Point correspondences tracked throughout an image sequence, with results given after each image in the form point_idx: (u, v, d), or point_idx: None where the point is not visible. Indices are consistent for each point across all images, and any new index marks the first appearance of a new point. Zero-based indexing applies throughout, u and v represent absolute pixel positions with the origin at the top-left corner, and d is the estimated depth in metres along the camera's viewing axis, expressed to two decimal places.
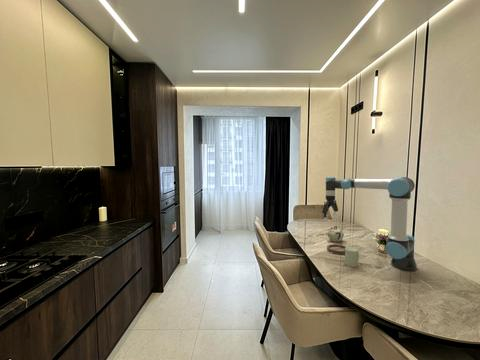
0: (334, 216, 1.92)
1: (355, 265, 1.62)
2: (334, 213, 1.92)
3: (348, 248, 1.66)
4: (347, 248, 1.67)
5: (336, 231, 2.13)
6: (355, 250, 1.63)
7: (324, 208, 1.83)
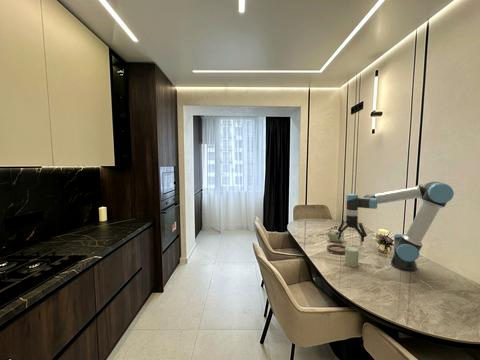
0: None
1: (355, 265, 1.62)
2: None
3: (348, 248, 1.66)
4: (347, 248, 1.67)
5: (336, 231, 2.13)
6: (355, 250, 1.63)
7: None
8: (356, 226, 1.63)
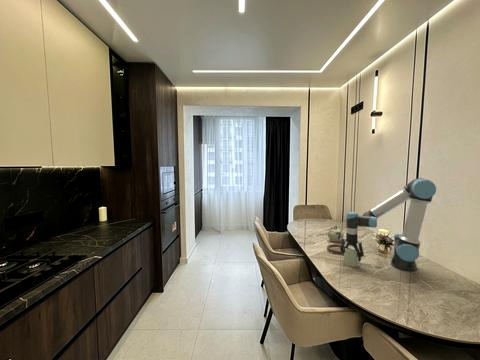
0: None
1: (355, 265, 1.62)
2: None
3: (348, 248, 1.66)
4: (347, 248, 1.67)
5: (336, 231, 2.13)
6: (355, 250, 1.63)
7: None
8: None
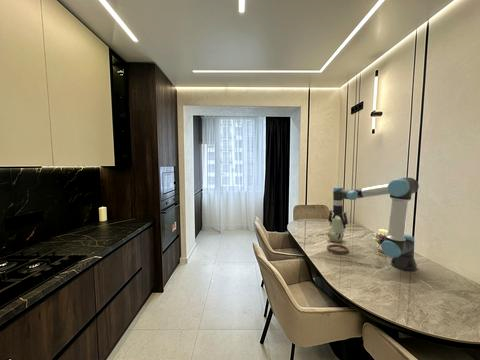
0: None
1: (340, 232, 1.88)
2: None
3: (334, 218, 1.92)
4: (334, 218, 1.93)
5: None
6: (340, 219, 1.89)
7: None
8: None
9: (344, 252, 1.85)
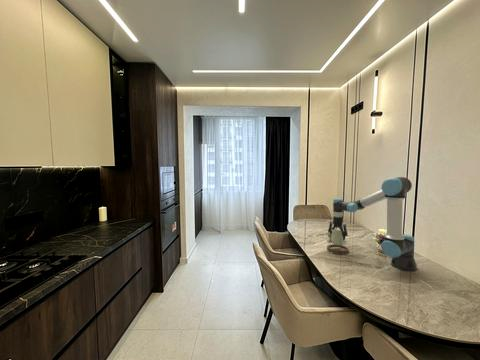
0: None
1: (340, 243, 1.88)
2: None
3: (334, 230, 1.93)
4: (334, 229, 1.94)
5: None
6: (340, 231, 1.89)
7: None
8: None
9: (344, 252, 1.85)
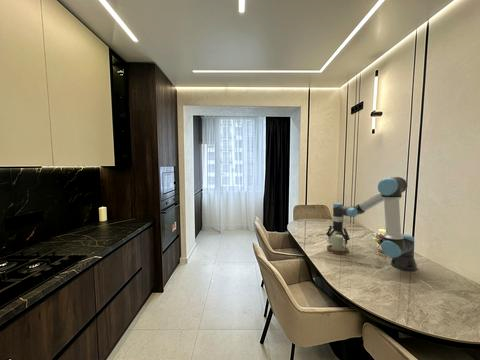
0: None
1: (340, 250, 1.89)
2: None
3: (334, 236, 1.93)
4: (334, 235, 1.94)
5: None
6: (340, 237, 1.90)
7: None
8: (341, 230, 1.91)
9: (344, 252, 1.85)
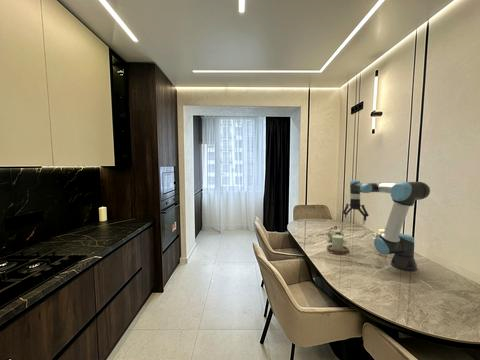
0: None
1: (340, 250, 1.89)
2: None
3: (334, 236, 1.93)
4: (334, 235, 1.94)
5: (336, 231, 2.13)
6: (340, 237, 1.90)
7: None
8: (359, 208, 1.90)
9: (344, 252, 1.85)
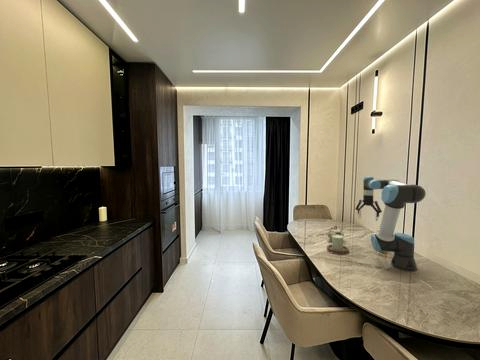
0: None
1: (340, 250, 1.89)
2: None
3: (334, 236, 1.93)
4: (334, 235, 1.94)
5: (336, 231, 2.13)
6: (340, 237, 1.90)
7: None
8: (372, 204, 1.90)
9: (344, 252, 1.85)
